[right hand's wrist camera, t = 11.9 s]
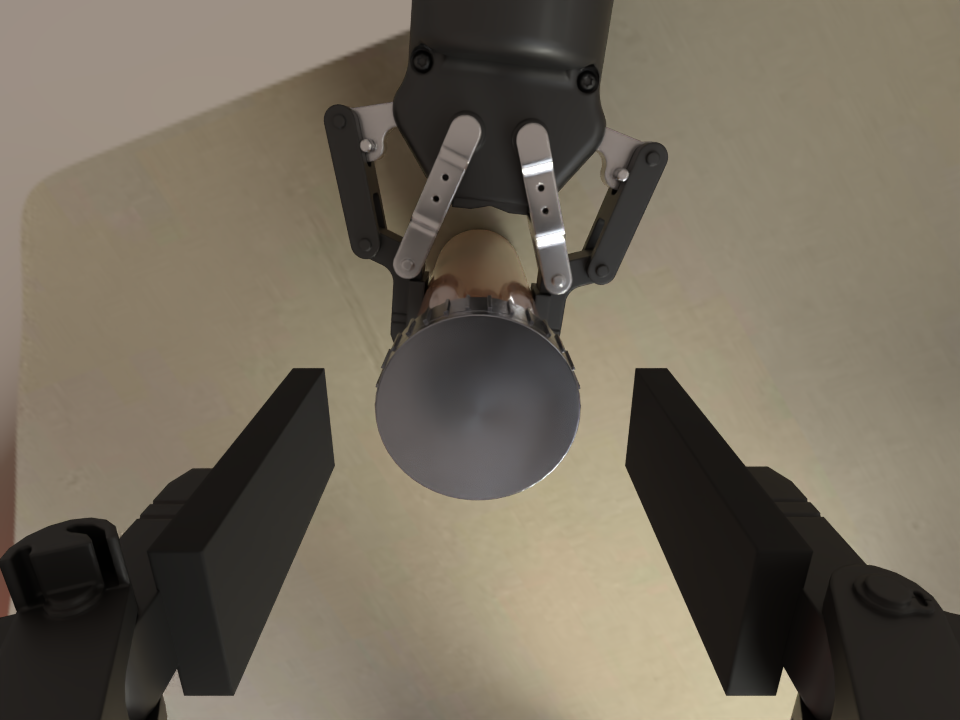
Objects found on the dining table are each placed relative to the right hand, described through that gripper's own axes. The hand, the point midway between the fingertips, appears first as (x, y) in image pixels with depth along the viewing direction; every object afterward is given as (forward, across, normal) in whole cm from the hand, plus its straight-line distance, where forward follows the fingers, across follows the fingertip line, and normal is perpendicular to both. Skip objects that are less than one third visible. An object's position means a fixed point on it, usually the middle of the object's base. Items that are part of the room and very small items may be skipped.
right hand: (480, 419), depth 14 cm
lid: (+1, 0, 0) cm, 2 cm away
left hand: (+12, 0, -3) cm, 13 cm away
